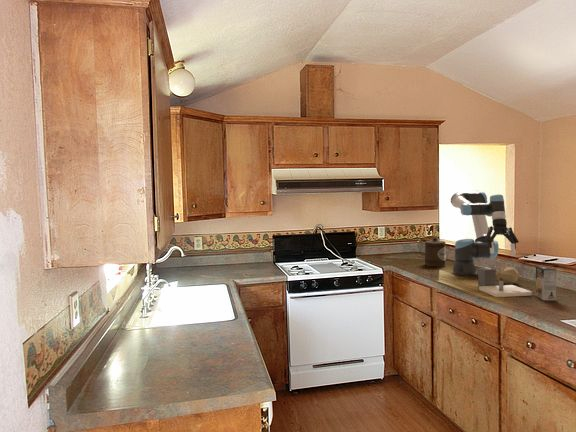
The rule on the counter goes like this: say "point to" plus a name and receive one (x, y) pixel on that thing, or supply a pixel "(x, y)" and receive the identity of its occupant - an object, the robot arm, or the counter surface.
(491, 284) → the grey block with stripe
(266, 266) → the counter surface
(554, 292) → the coffee box
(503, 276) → the low-poly potato
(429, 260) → the wooden container
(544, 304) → the counter surface
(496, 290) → the panel
